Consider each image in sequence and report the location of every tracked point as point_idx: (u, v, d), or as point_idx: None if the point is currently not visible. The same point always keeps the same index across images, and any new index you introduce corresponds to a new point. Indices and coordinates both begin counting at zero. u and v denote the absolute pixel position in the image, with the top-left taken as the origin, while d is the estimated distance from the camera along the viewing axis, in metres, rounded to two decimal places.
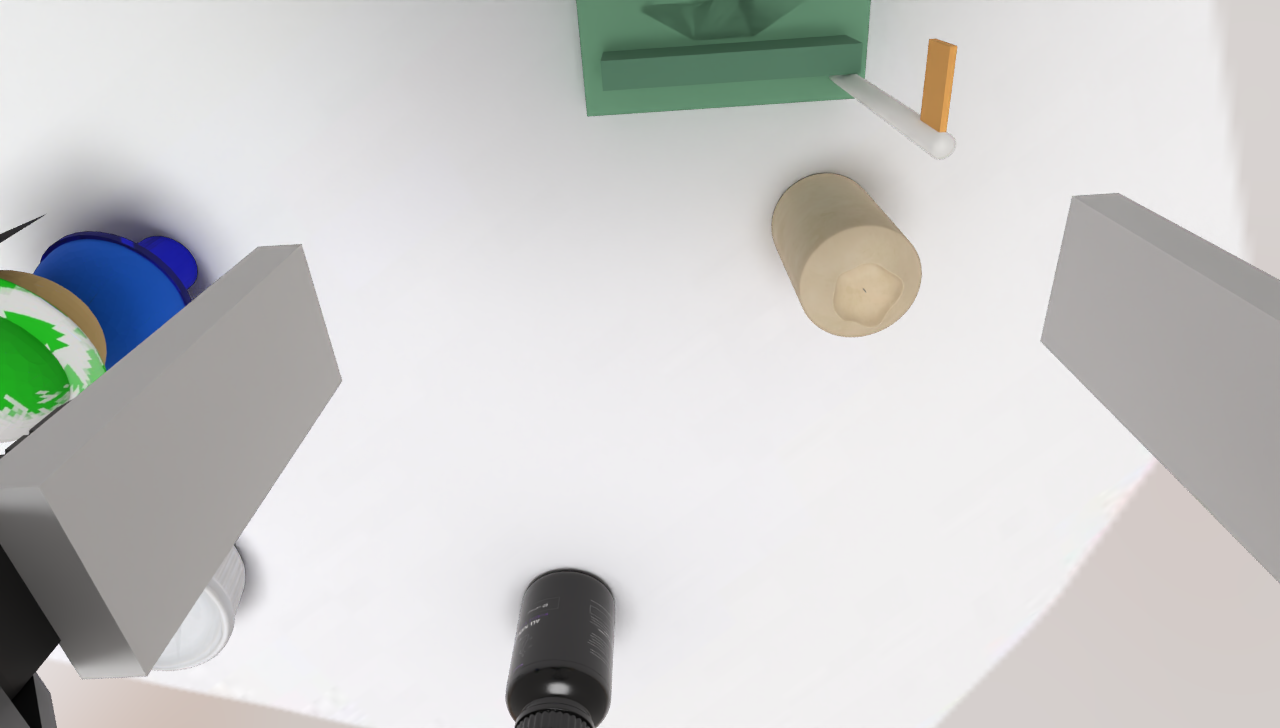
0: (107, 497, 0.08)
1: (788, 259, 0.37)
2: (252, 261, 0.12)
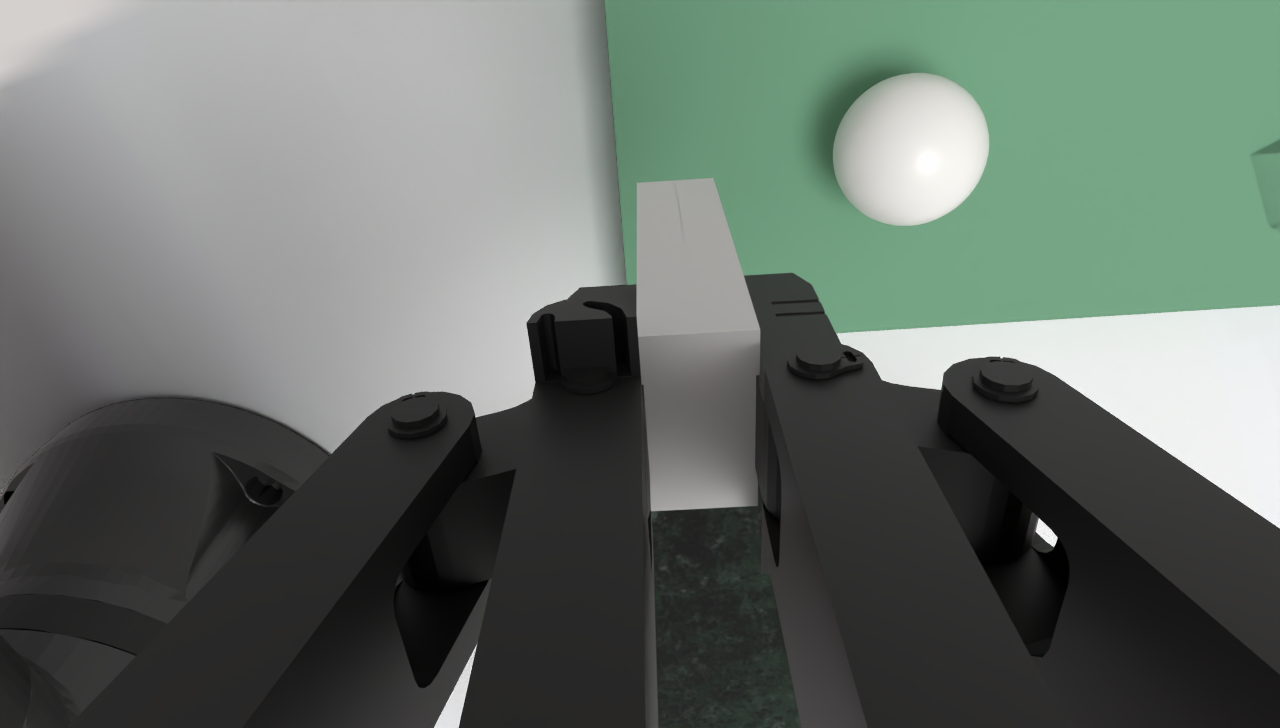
0: None
1: None
2: (648, 192, 0.14)
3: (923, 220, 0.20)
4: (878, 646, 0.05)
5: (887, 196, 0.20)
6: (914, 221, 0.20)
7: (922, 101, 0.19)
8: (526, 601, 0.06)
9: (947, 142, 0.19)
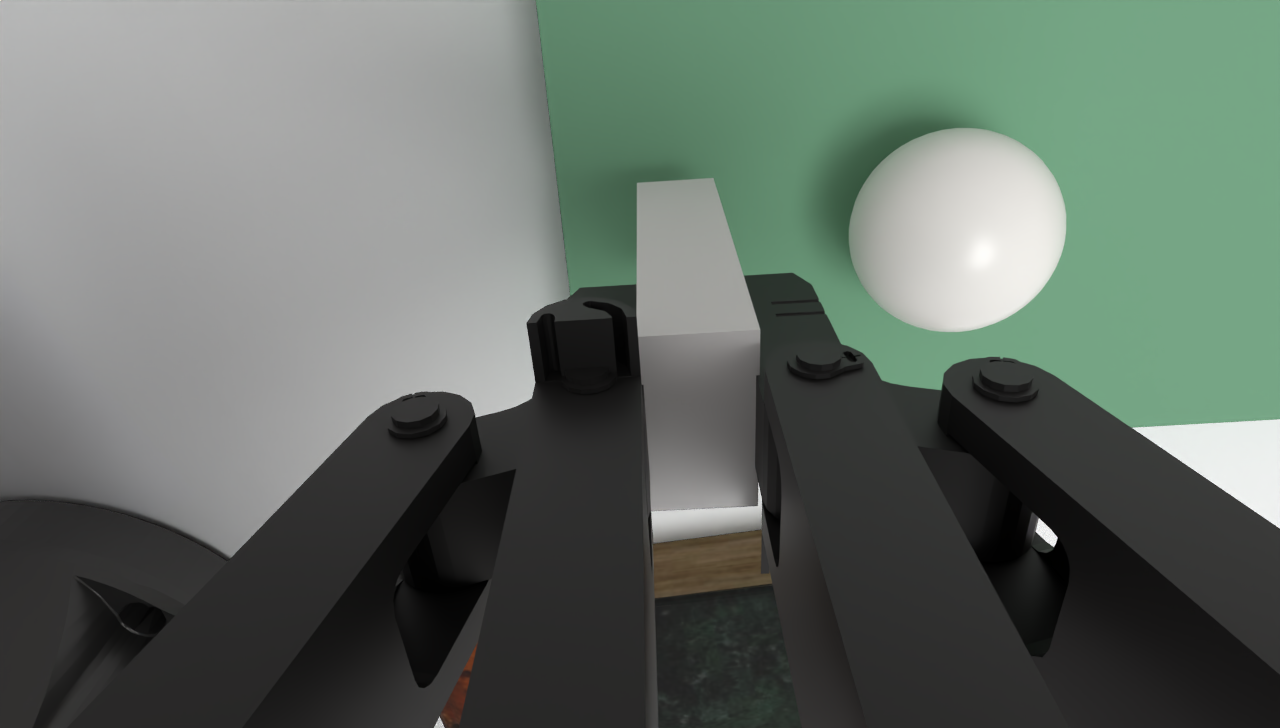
0: None
1: None
2: (648, 192, 0.14)
3: (973, 328, 0.15)
4: (878, 648, 0.05)
5: (925, 300, 0.14)
6: (960, 330, 0.15)
7: (977, 173, 0.13)
8: (526, 601, 0.06)
9: (1013, 232, 0.13)
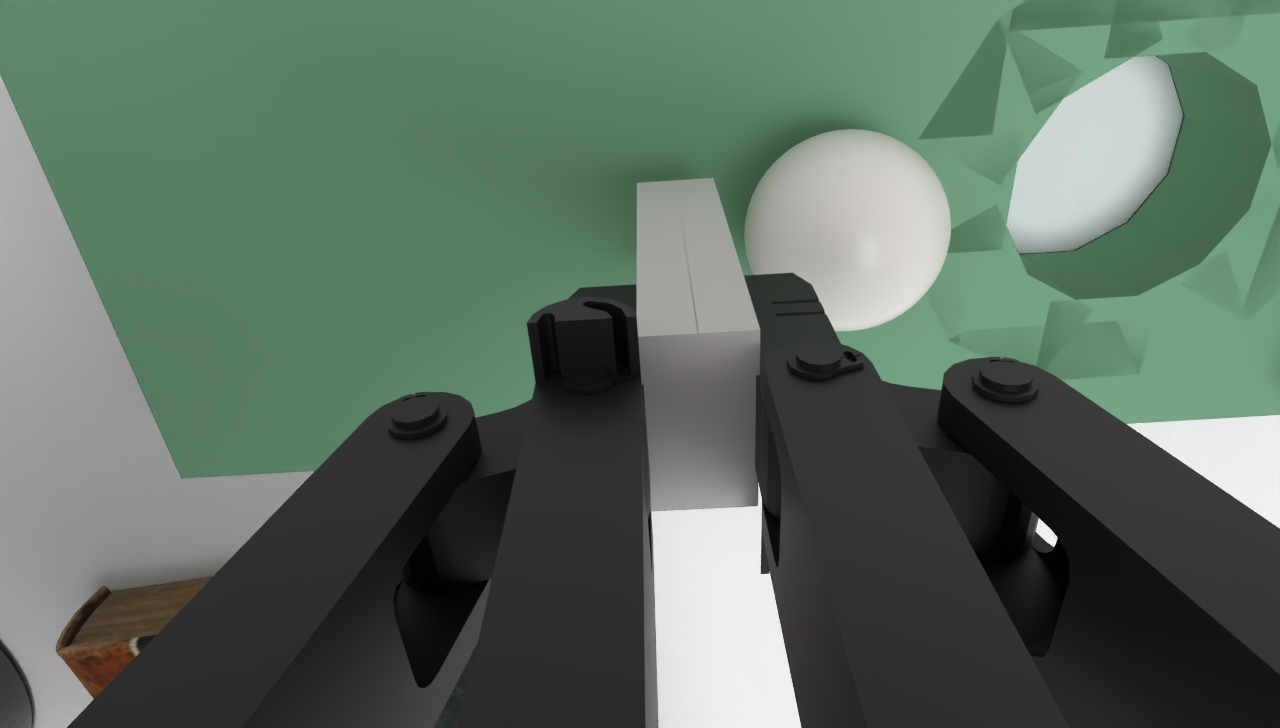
0: None
1: None
2: (648, 192, 0.14)
3: None
4: (878, 647, 0.05)
5: None
6: None
7: (784, 153, 0.15)
8: (526, 601, 0.06)
9: (749, 206, 0.15)
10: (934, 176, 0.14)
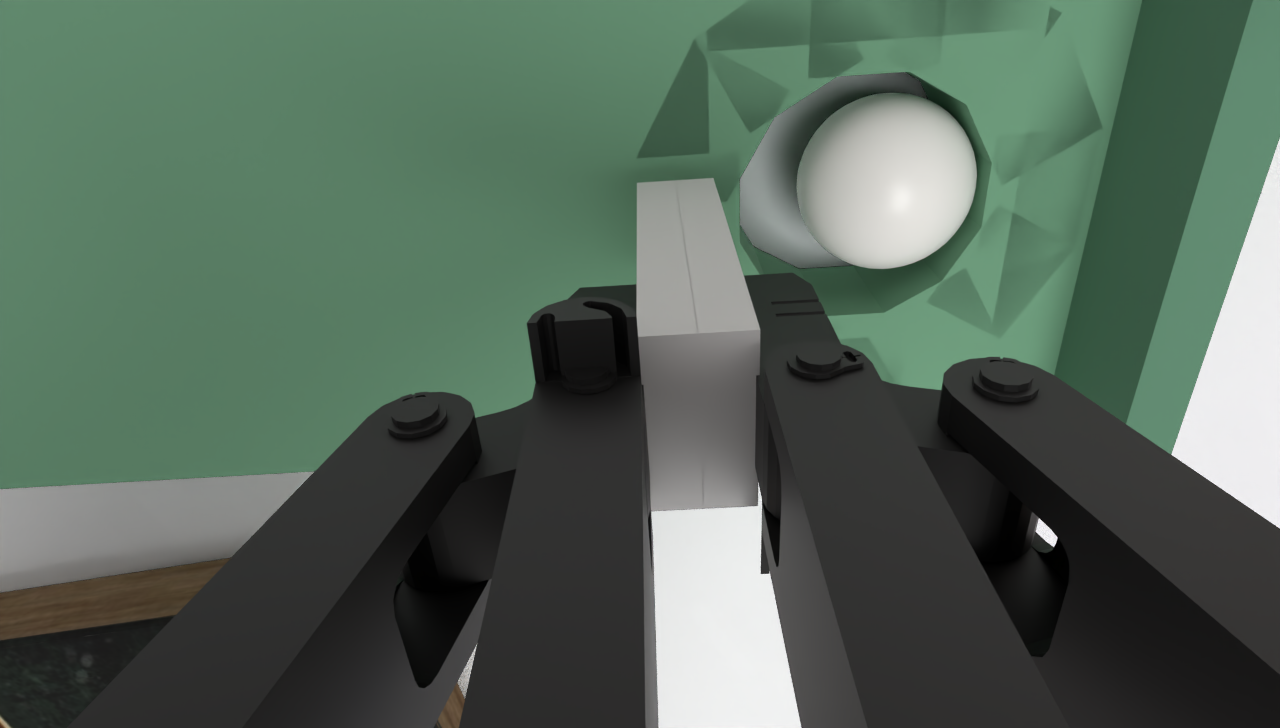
0: None
1: None
2: (648, 192, 0.14)
3: None
4: (878, 648, 0.05)
5: None
6: None
7: None
8: (526, 600, 0.06)
9: None
10: (860, 146, 0.16)
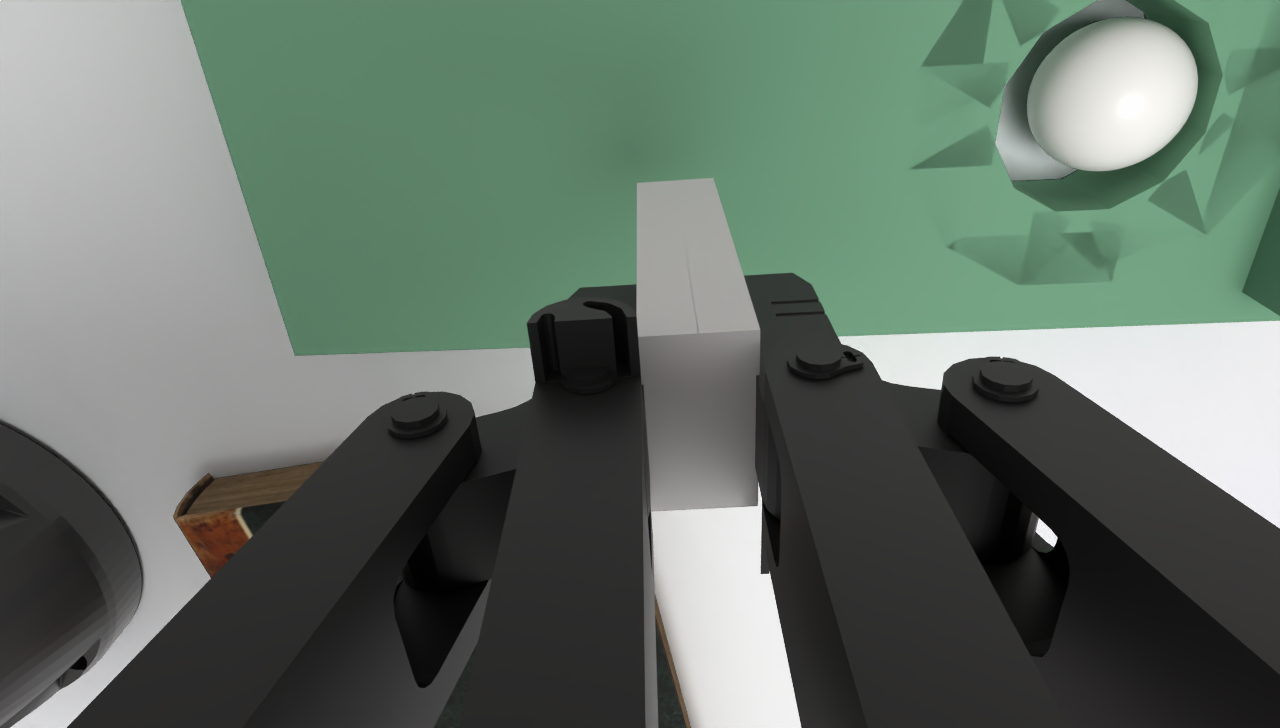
0: None
1: None
2: (648, 192, 0.14)
3: None
4: (878, 646, 0.05)
5: None
6: None
7: None
8: (525, 601, 0.06)
9: None
10: (1097, 58, 0.19)
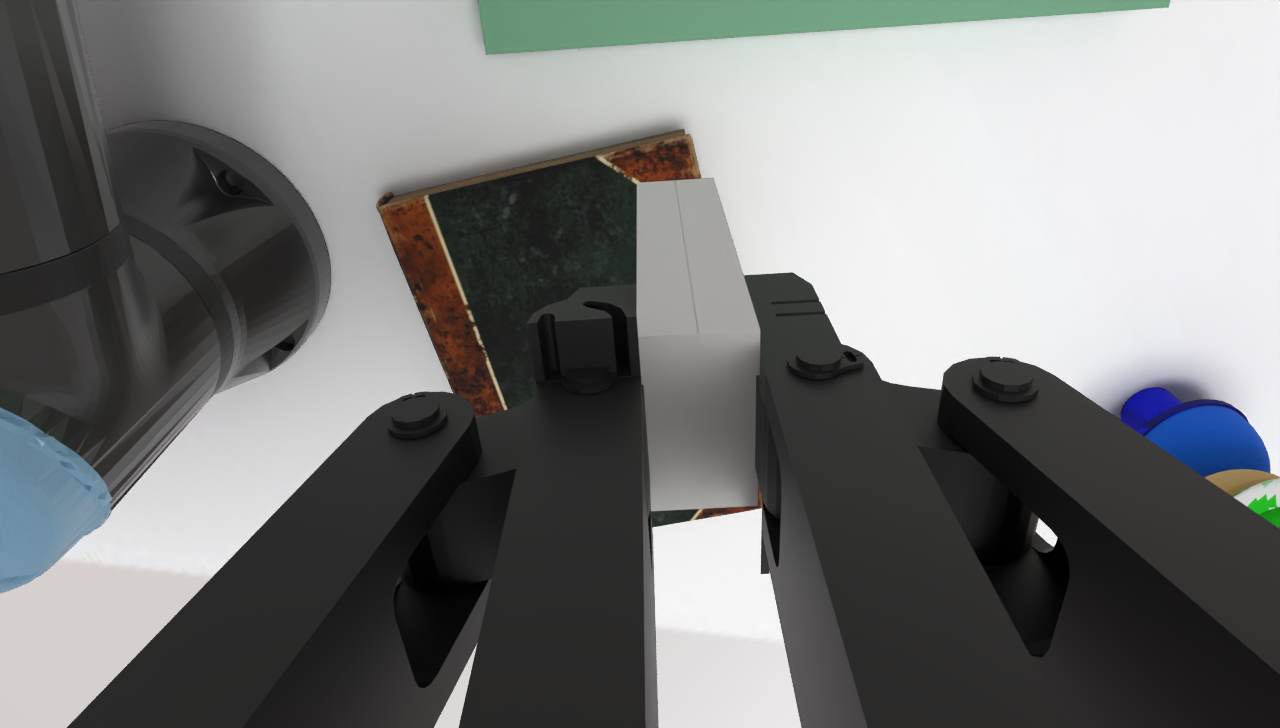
0: None
1: None
2: (648, 192, 0.14)
3: None
4: (878, 648, 0.05)
5: None
6: None
7: None
8: (526, 601, 0.06)
9: None
10: None
